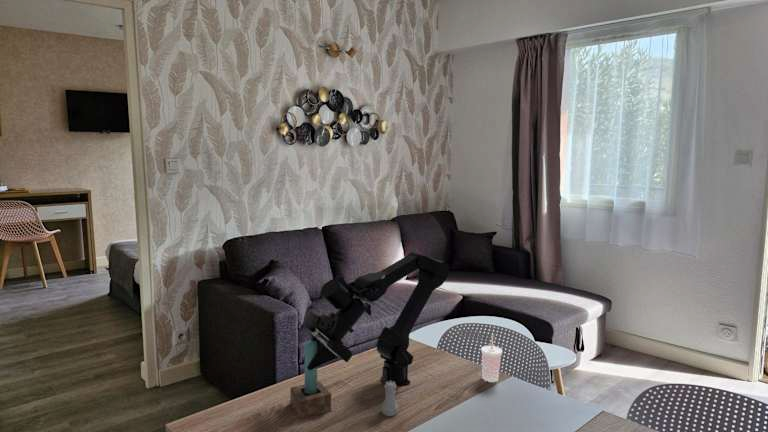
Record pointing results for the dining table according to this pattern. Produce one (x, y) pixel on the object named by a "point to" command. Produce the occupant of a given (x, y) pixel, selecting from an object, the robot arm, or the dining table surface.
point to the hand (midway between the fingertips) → (305, 366)
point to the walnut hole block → (310, 400)
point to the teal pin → (312, 374)
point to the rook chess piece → (390, 400)
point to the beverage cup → (491, 362)
